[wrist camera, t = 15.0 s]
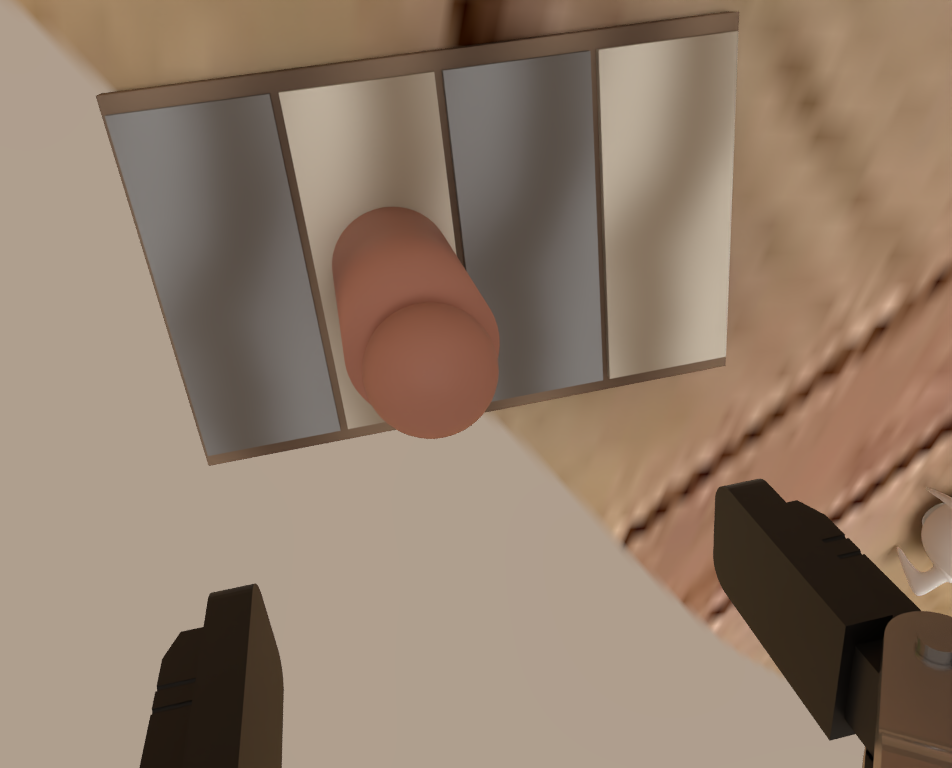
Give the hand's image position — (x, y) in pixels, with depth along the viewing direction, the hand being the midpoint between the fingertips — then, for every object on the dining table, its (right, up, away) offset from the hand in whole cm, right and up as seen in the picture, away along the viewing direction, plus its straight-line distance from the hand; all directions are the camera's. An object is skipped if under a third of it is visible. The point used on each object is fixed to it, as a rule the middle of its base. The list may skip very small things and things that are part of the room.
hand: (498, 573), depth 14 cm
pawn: (-3, +8, +16) cm, 18 cm away
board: (-1, +9, +17) cm, 19 cm away
